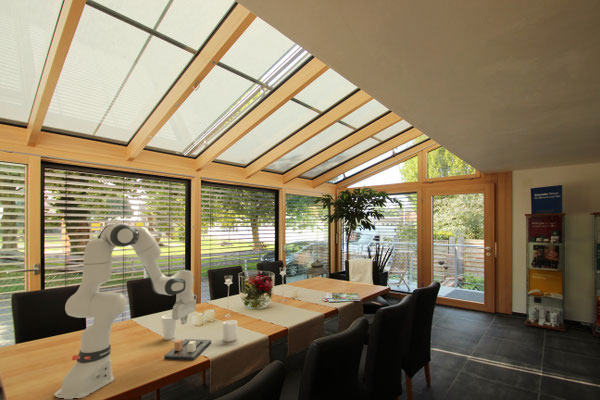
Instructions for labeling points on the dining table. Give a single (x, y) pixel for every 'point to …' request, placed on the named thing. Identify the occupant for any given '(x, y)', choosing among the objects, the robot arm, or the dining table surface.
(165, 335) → the foam cup
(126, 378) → the dining table surface
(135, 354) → the dining table surface
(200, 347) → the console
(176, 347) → the block
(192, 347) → the block
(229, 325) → the cup
